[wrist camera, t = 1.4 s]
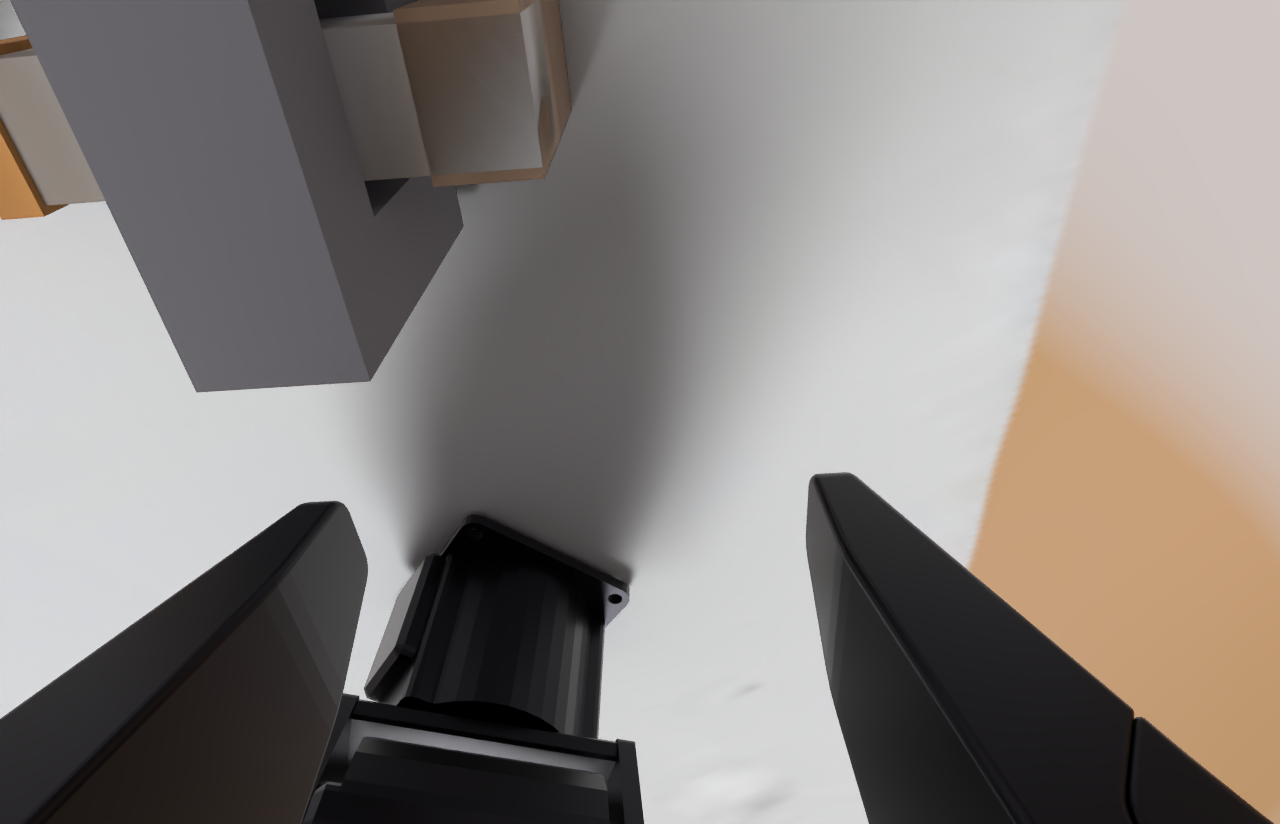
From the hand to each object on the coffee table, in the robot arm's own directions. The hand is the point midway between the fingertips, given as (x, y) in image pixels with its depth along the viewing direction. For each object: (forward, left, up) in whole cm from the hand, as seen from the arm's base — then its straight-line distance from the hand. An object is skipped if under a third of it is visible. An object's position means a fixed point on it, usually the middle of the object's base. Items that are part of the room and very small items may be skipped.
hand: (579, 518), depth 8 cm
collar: (+6, +1, -13) cm, 14 cm away
